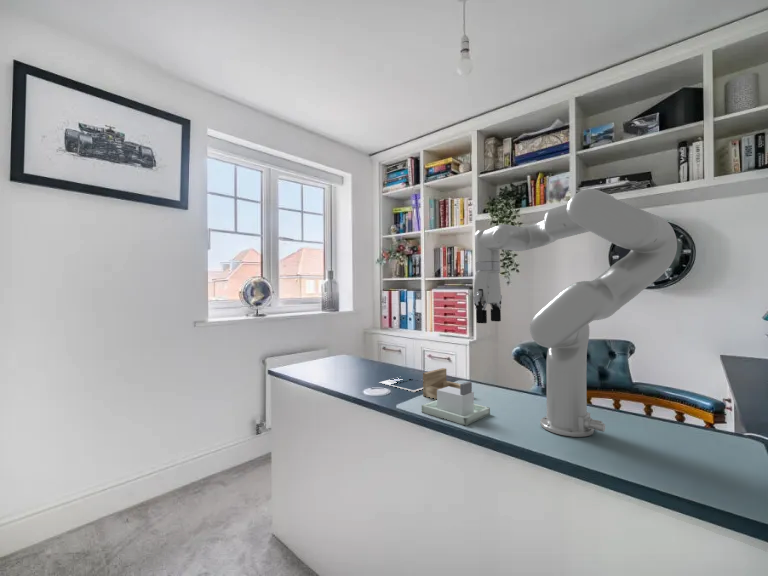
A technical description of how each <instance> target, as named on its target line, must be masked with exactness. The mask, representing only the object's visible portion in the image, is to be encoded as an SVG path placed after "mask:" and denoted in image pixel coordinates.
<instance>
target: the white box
mask: <svg viewBox="0 0 768 576" xmlns="http://www.w3.org/2000/svg"><path fill="white" fill-rule="evenodd" d="M459 384H460V389H459V388H454V387H450V386H448V387H445V388H442V389H438V390H437V409H440V410H444V411H447V412H451V413H454V414H457V415H461V416H466V415H469V414H471V413H473V412H474V404H475V399H474V398H475V392H474V391H473V388H472V387H473V385H472V384H473V382H472V381H466V382H463V383H459Z"/></svg>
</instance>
